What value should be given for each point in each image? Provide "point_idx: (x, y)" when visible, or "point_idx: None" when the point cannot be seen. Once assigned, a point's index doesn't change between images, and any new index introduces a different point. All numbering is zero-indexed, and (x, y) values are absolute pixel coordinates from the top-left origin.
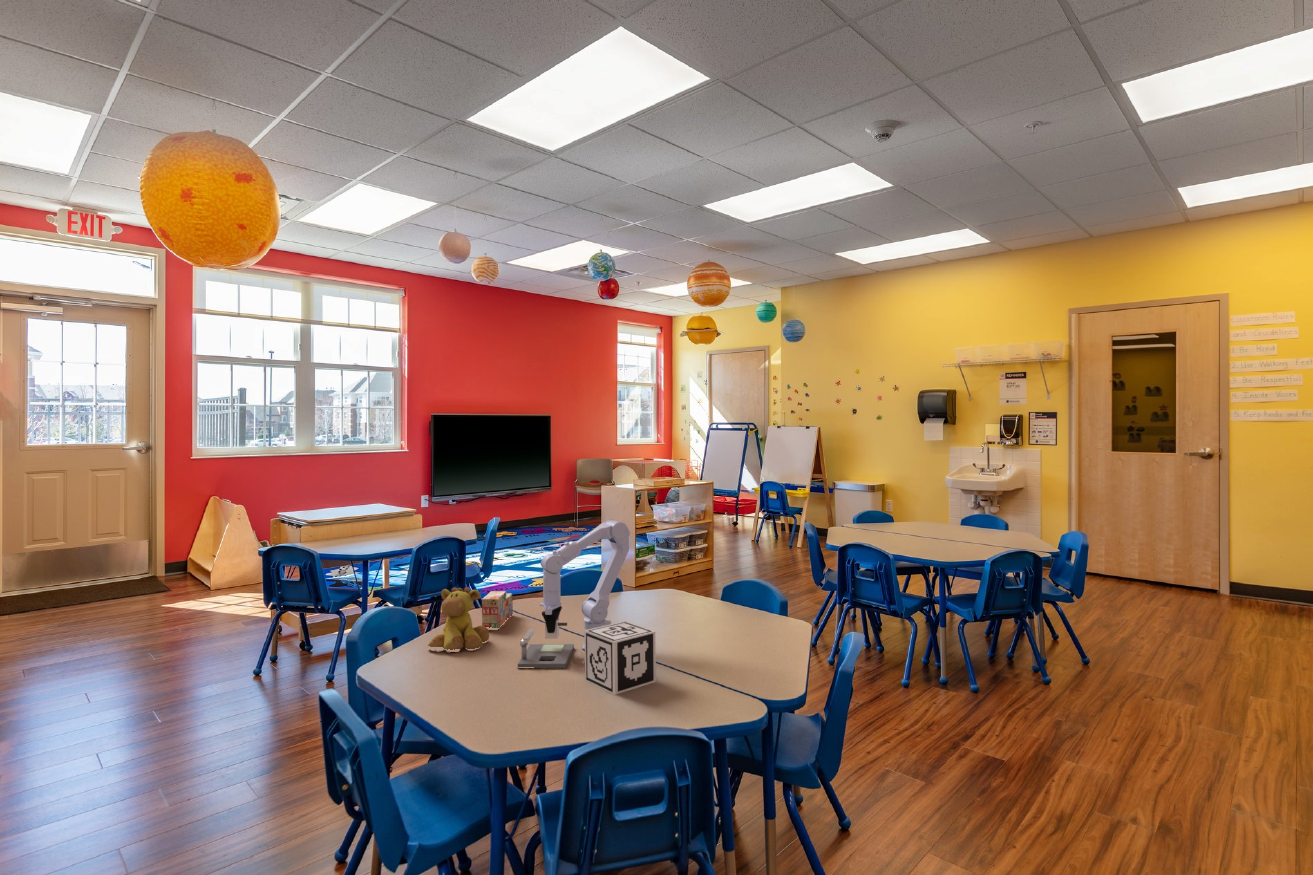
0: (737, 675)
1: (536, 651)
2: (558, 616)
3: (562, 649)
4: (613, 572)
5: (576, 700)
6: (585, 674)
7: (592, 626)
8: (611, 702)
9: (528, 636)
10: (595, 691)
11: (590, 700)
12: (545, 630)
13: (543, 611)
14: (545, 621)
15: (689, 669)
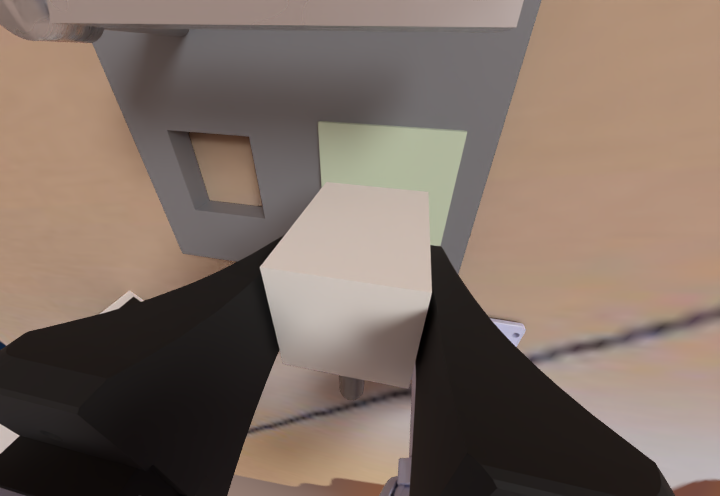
0: (250, 463)
1: (331, 89)
2: (414, 413)
3: None
4: None
5: (4, 265)
6: (112, 304)
7: (410, 439)
8: (49, 322)
9: (129, 23)
10: (78, 304)
11: (28, 291)
12: (303, 215)
13: (71, 419)
14: (187, 287)
15: (263, 439)
